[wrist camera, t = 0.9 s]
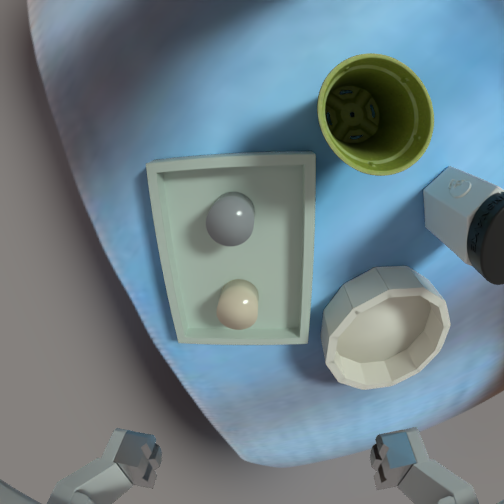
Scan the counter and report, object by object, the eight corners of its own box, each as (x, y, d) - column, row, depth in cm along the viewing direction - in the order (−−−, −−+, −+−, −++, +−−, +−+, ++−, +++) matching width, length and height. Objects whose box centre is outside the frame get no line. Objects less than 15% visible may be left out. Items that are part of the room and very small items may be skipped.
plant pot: (291, 79, 26) (301, 64, 18) (380, 63, 24) (417, 49, 16) (317, 168, 29) (336, 188, 22) (401, 149, 28) (443, 163, 20)
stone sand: (219, 279, 35) (214, 296, 31) (258, 278, 34) (257, 296, 31) (222, 310, 36) (218, 329, 33) (259, 310, 36) (258, 329, 33)
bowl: (326, 268, 34) (335, 292, 30) (445, 264, 33) (464, 284, 28) (316, 367, 41) (320, 393, 36) (416, 357, 40) (427, 379, 35)
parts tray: (154, 159, 30) (145, 163, 27) (311, 151, 29) (315, 154, 26) (183, 330, 39) (178, 342, 37) (305, 330, 38) (307, 343, 36)
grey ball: (210, 192, 30) (203, 202, 27) (254, 190, 30) (252, 200, 27) (214, 233, 32) (208, 246, 29) (256, 232, 32) (254, 245, 29)
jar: (459, 152, 27) (529, 177, 16) (485, 205, 29) (546, 244, 18) (407, 200, 30) (465, 244, 19) (438, 249, 32) (490, 304, 21)
